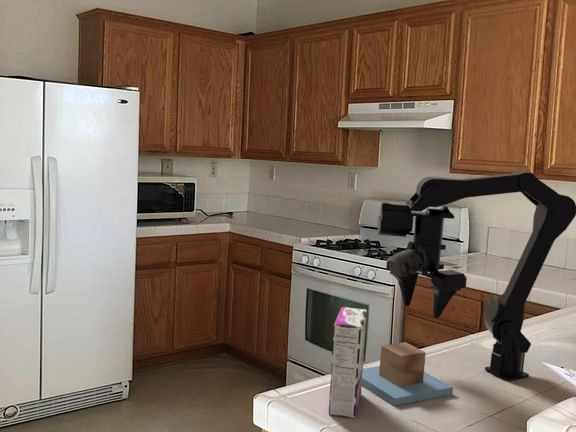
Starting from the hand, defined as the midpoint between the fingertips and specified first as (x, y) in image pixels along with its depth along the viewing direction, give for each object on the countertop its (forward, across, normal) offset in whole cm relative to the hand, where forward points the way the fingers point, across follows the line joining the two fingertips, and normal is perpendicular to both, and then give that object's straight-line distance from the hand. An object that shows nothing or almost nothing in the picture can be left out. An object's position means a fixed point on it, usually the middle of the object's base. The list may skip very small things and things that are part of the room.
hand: (421, 311), depth 133 cm
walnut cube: (+10, +7, -10) cm, 16 cm away
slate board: (+12, +7, -10) cm, 17 cm away
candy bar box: (+12, +10, -25) cm, 30 cm away
